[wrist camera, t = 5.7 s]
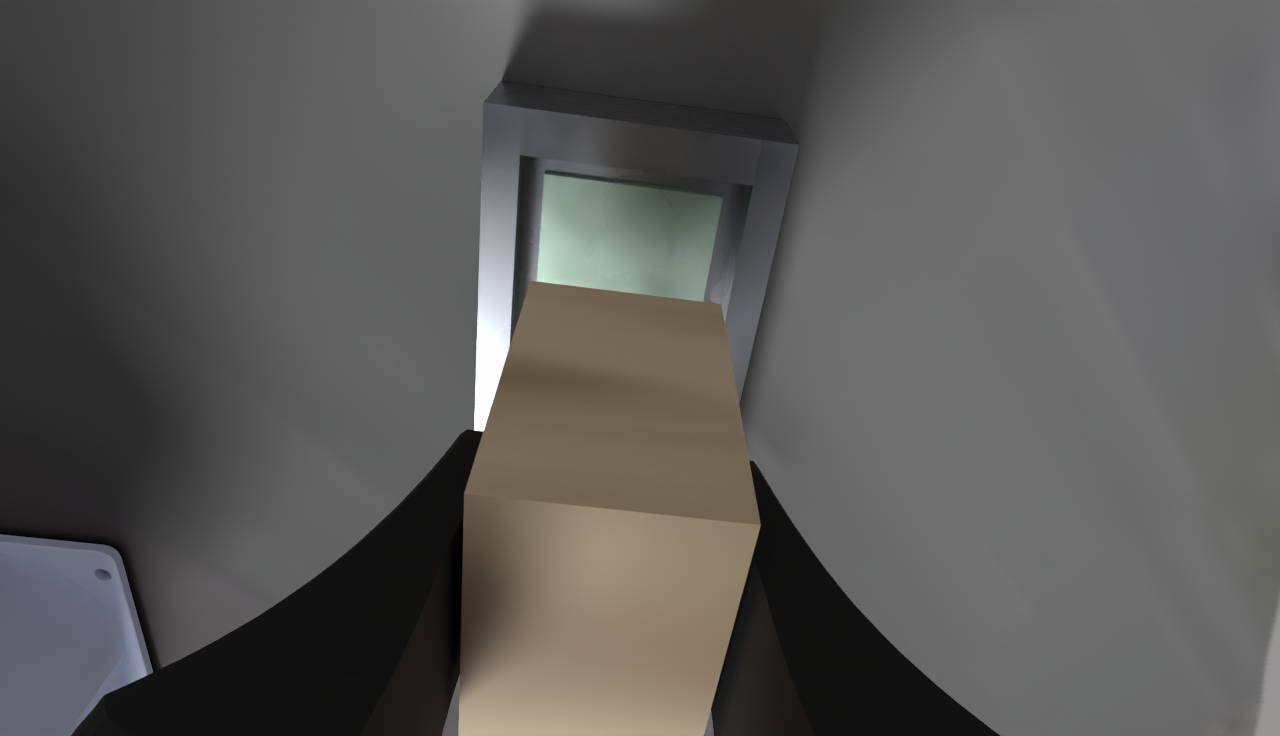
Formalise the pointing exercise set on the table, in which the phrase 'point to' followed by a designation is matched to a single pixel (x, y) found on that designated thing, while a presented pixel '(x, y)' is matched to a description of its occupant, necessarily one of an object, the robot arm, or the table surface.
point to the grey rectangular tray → (625, 209)
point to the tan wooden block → (605, 521)
